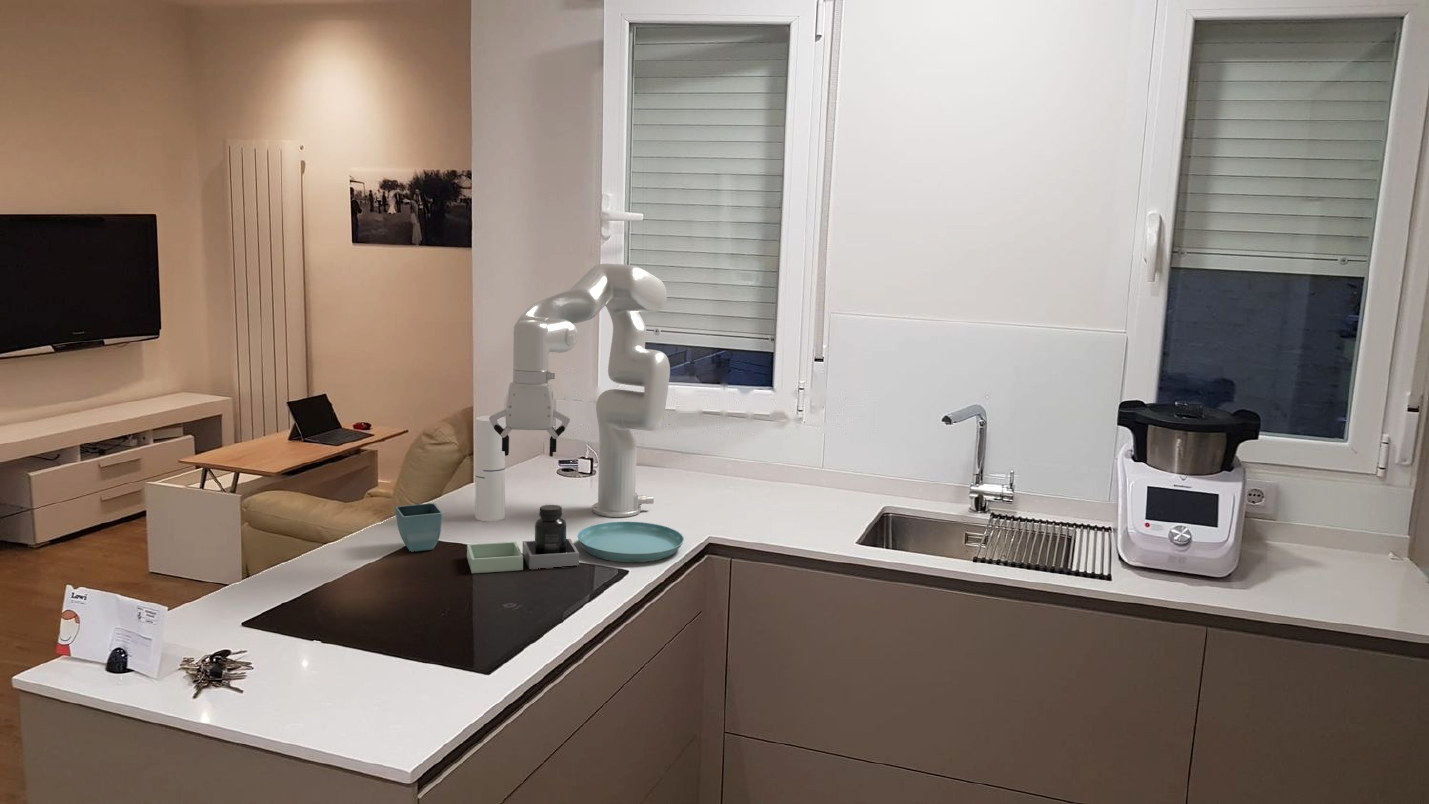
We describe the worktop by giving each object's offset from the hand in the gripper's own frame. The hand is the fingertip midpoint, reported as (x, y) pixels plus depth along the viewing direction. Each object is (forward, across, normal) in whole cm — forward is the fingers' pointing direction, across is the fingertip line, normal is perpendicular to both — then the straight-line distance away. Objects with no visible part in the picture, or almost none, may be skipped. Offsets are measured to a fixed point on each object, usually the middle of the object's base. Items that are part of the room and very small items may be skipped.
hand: (529, 455), depth 231 cm
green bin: (+22, +7, +7) cm, 24 cm away
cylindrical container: (+22, +10, -29) cm, 38 cm away
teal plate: (+23, -23, -4) cm, 33 cm away
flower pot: (+23, +24, -4) cm, 33 cm away
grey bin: (+22, -5, +5) cm, 23 cm away
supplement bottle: (+23, -5, +5) cm, 24 cm away
